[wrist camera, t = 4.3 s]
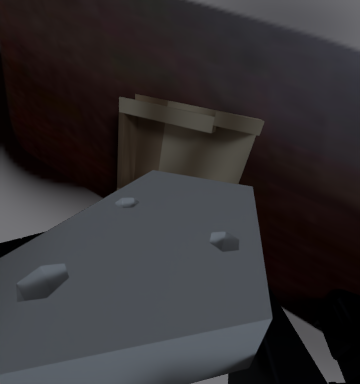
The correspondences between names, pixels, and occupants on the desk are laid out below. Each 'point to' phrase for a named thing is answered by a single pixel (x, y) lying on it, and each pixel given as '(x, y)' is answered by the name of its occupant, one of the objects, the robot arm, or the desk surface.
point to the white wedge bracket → (138, 289)
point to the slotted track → (181, 140)
